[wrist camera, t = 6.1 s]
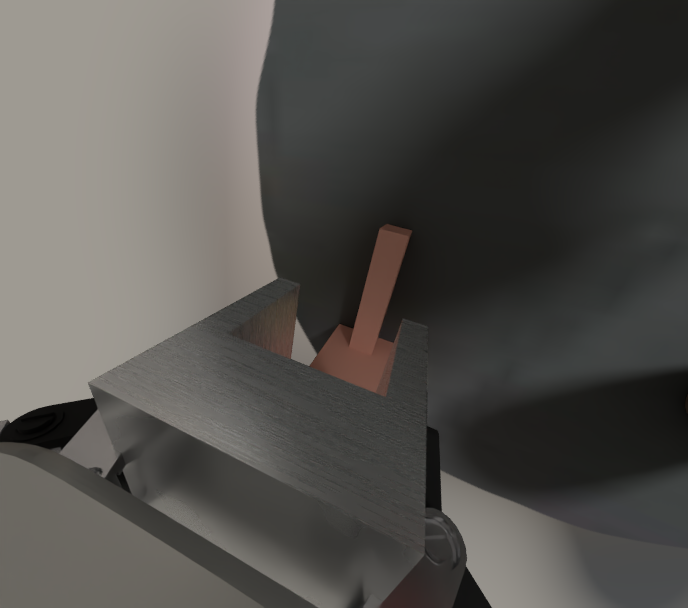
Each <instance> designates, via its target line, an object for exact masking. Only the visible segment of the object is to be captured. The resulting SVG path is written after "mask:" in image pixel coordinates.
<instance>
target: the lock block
mask: <svg viewBox="0 0 688 608" xmlns="http://www.w3.org/2000/svg"><path fill="white" fill-rule="evenodd" d="M299 291H300V284H299V283H296V282H293V281H290V280H287V279H284V278H281V277H280V278H278V279H276V280H274V281H273V282H271V283H269V284H267V285H265V286H263V287H262V288H260V289H258V290H256V291H254V292H253V293H251V294H249V295H247V296H245V297H243V298H242V299H240V300H238V301H236V302H234V303H232V304H231V305H229V306H227V307H225V308H223V309H221V310H220V311H218V312H216V313H214V314H212V315H210V316H209V317H207V318H205V319H203V320H201V321H199V322H198V323H196V324H194V325H192V326H190V327H188V328H187V329H185V330H183V331H182V332H179V333H178V334H176V335H174V336H172V337H170V338H168V339H167V340H165V341H163V342H161V343H159V344H157V345H156V346H154V347H152V348H150V349H149V350H146V351H145V352H143V353H141V354H139V355H137V356H136V357H134V358H132V359H130V360H128V361H126V362H125V363H123V364H121V365H119V366H117V367H116V368H114V369H112V370H110V371H108V372H107V373H104V374H103V375H101V376H99V377H97V378H95V379H93V380H92V381H90V382H88V384H89V387H90V389H91V392H92V395H93V397H94V400H95V402H96V405H97V407H98V410H99V412H100V415H101V417H102V420H103V422H104V425H105V427H106V430H107V432H108V435H109V438H110V440H111V443H112V445H113V448H114V449H116V450H117V451H119V452H121V453H122V456H123V458H124V461H125V464H126V465H125V467H124V469H123V473H124V475H125V478H126V480H127V483H128V486H129V488H130V491H131V493H132V495H133V496H135V497H137V498H138V499H140V500H142V501H143V502H145V503H147V504H148V505H150V506H152V507H153V508H155V509H157V510H158V511H160V512H162V513H163V514H165V515H167V516H168V517H170V518H172V519H173V520H175V521H177V522H178V523H180V524H182V525H183V526H185V527H187V528H188V529H190V530H192V531H193V532H195V533H197V534H198V535H200V536H202V537H203V538H205V539H206V540H208V541H210V542H211V543H213V544H215V545H216V546H218V547H220V548H221V549H223V550H225V551H226V552H228V553H230V554H231V555H233V556H235V557H236V558H238V559H240V560H241V561H243V562H244V563H246V564H248V565H249V566H251V567H253V568H254V569H256V570H258V571H259V572H261V573H262V574H264V575H266V576H267V577H269V578H271V579H272V580H274V581H276V582H277V583H279V584H280V585H282V586H284V587H285V588H287V589H289V590H290V591H292V592H294V593H295V594H297V595H298V596H300V597H302V598H303V599H305V600H307V601H308V602H310V603H312V604H313V605H315V606H316V607H318V608H362V606H363V604H364V602H365V601H366V600H367V598H368V597H369V596H370V595H371V594H372V595H374V596H376V597H377V598H379V599H381V600H383V601H384V600H385V599H386V598H387V597H388V595H389V594H390V593H391V592H392V591H393V590H394V589H395V588H396V587H397V585H398V584H399V583H400V582H401V581H402V580H403V579H404V578H405V576H406V575H407V574H408V573H409V572H410V571H411V570H412V569H413V567H414V566H415V565H416V564H417V563H418V562H419V561H420V560H421V558H422V557H423V556H424V555H425V493H426V423H427V353H428V326H426V325H423V324H420V323H416V322H413V321H410V320H407V319H404V318H403V320H402V322H401V325H400V328H399V330H398V333H397V336H396V339H395V341H394V344H393V347H392V349H391V352H390V355H389V358H388V360H387V363H386V366H385V368H384V371H383V374H382V377H381V379H380V382H379V385H378V387H377V390H376V393H374V392H372V391H369V390H367V389H364V388H362V387H359V386H357V385H354V384H352V383H349V382H347V381H344V380H342V379H339V378H337V377H334V376H332V375H329V374H327V373H324V372H322V371H319V370H317V369H314V368H312V367H309V366H307V365H304V364H302V363H299V362H297V361H294V360H292V359H291V353H292V345H293V337H294V330H295V322H296V314H297V306H298V299H299Z"/></svg>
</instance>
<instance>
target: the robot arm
mask: <svg viewBox="0 0 688 608" xmlns="http://www.w3.org/2000/svg"><path fill="white" fill-rule="evenodd" d="M125 465H126V464H125V461H124V458H123V456H122V453H121V452H119V451H117V450H116V449H114V448H113V445H112V443H111V440H110V438H109V435H108V432H107V430H106V427H105V425H104V422H103V420H102V417H101V415H100V412H99V410H98V407H97V405H96V402H95V400H94V398H91V399H85V400H80V401H74V402H68V403H62V404H56V405H51V406H46V407H42V408H38V409H36V410H33V411H31V412H28V413H26V414H24V415H22V416H20V417H19V418H17V419H16V420H14V421H13V422H11V423H10V422H9V421H8V420H5V421H0V608H318V607H316V606H315V605H313V604H312V603H310V602H308V601H307V600H305V599H303V598H302V597H300V596H298V595H297V594H295V593H294V592H292V591H290V590H289V589H287V588H285V587H284V586H282V585H280V584H279V583H277V582H276V581H274V580H272V579H271V578H269V577H267V576H266V575H264V574H262V573H261V572H259V571H258V570H256V569H254V568H253V567H251V566H249V565H248V564H246V563H244V562H243V561H241V560H240V559H238V558H236V557H235V556H233V555H231V554H230V553H228V552H226V551H225V550H223V549H221V548H220V547H218V546H216V545H215V544H213V543H211V542H210V541H208V540H206V539H205V538H203V537H202V536H200V535H198V534H197V533H195V532H193V531H192V530H190V529H188V528H187V527H185V526H183V525H182V524H180V523H178V522H177V521H175V520H173V519H172V518H170V517H168V516H167V515H165V514H163V513H162V512H160V511H158V510H157V509H155V508H153V507H152V506H150V505H148V504H147V503H145V502H143V501H142V500H140V499H138V498H137V497H135V496H133V495H132V493H131V491H130V488H129V486H128V483H127V480H126V478H125V475H124V473H123V469H124V467H125ZM440 480H441V479H440V451H439V433H438V431H437V430H435V429H433V428H430V427H428V426H427V423H426V493H425V555H424V556H423V557H422V558H421V560H420V561H419V562H418V563H417V564H416V565H415V566H414V567H413V569H412V570H411V571H410V572H409V573H408V574H407V575H406V576H405V578H404V579H403V580H402V581H401V582H400V583H399V584H398V585H397V587H396V588H395V589H394V590H393V591H392V592H391V593H390V594H389V595H388V597H387V598H386V599H385V600H384V601H383V600H381V599H379V598H377V597H376V596H374V595H372V594H371V595H370V596H369V597H368V598H367V600H366V601H365V602H364V604H363V606H362V608H492V607H491V606H490V604H489V602H488V601H487V599H486V598H485V596H484V594H483V593H482V591H481V590H480V588H479V586H478V585H477V583H476V582H475V580H474V578H473V577H472V575H471V574H470V572H469V570H468V569H467V567H466V561H467V555H466V548H465V544H464V541H463V538H462V536H461V534H460V532H459V530H458V529H457V527H456V525H455V524H454V523H453V522H452V521H451V519H450V518H449V517H447V516H446V515H445V514H444V513H443V512H442V508H441V481H440Z"/></svg>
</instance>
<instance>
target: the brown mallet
mask: <svg viewBox="0 0 688 608" xmlns="http://www.w3.org/2000/svg"><path fill="white" fill-rule="evenodd" d="M411 233H412V230H408V229H404V228H400V227H397V226H393V225H389V224H386V225H384V226H383V227H381V228H380V229H379V233H378V237H377V241H376V245H375V249H374V252H373V256H372V260H371V264H370V268H369V272H368V276H367V279H366V283H365V287H364V291H363V295H362V299H361V303H360V306H359V310H358V314H357V318H356V322H355V326H354V329H353V328H350V327H347V326H344V325H341V324H339V325H338V327H337V328H336V329H335V331H334V332H333V334H332V335H331V336H330V338H329V339H328V341H327V342H326V343H325V345H324V346H323V348H322V349H321V350H320V352H319V353H318V355H317V356H316V357H315V359H314V360H313V362H312V363H311V365H310V366H309V367H312V368H314V369H317V370H319V371H322V372H324V373H327V374H329V375H332V376H334V377H337V378H339V379H342V380H344V381H347V382H349V383H352V384H354V385H357V386H359V387H362V388H364V389H367V390H369V391H372V392H374V393H376V390H377V387H378V385H379V382H380V379H381V377H382V374H383V371H384V368H385V366H386V363H387V360H388V358H389V355H390V352H391V349H392V347H393V344H394V343H392V342H389V341H387V340H384V339H381V338H378V336H379V333H380V330H381V327H382V323H383V320H384V317H385V314H386V311H387V308H388V305H389V302H390V299H391V295H392V292H393V289H394V286H395V283H396V280H397V277H398V274H399V271H400V268H401V264H402V261H403V258H404V255H405V252H406V249H407V246H408V243H409V240H410V236H411Z"/></svg>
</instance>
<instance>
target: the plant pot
mask: <svg viewBox="0 0 688 608" xmlns="http://www.w3.org/2000/svg"><path fill="white" fill-rule="evenodd" d="M685 409H686V412H687V415H688V395H687V397H686V401H685Z"/></svg>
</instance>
